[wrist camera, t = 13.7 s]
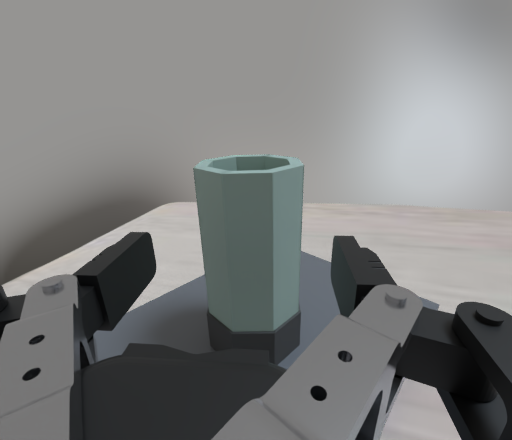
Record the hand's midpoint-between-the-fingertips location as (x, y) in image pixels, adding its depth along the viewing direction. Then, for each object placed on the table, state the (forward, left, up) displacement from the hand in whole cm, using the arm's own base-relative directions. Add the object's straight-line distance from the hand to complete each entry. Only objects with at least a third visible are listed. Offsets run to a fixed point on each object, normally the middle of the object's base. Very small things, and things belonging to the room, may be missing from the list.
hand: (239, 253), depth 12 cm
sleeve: (-3, -2, -8) cm, 8 cm away
